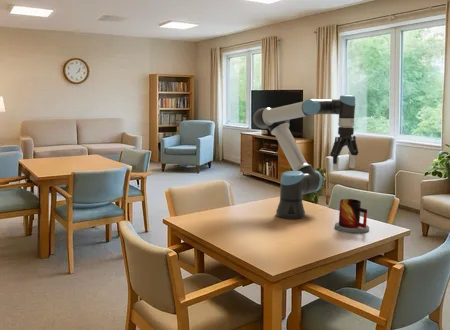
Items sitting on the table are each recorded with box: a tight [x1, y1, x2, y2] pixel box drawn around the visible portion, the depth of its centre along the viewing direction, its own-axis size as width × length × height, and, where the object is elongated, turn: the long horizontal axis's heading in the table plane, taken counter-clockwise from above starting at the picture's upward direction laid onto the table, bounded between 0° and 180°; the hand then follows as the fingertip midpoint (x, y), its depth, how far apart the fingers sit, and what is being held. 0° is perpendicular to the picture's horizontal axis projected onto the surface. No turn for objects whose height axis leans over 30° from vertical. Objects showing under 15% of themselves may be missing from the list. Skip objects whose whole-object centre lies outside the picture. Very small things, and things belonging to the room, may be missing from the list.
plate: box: [334, 221, 370, 235], centre depth 217 cm, size 16×16×1 cm
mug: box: [338, 198, 368, 228], centre depth 216 cm, size 10×14×12 cm
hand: (343, 169), depth 227 cm, fingers open, 13 cm apart
